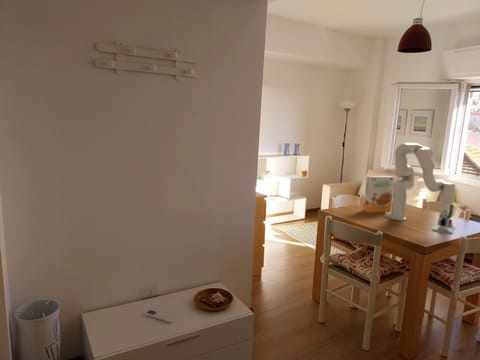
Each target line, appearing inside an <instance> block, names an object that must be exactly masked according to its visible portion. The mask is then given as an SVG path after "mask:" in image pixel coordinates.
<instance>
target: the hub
mask: <svg viewBox="0 0 480 360" xmlns="http://www.w3.org/2000/svg"><path fill="white" fill-rule="evenodd" d="M441 219H442V217H439V216H438V220H437V226H442V225H440V224H441ZM450 219H451V218H450ZM450 219H448V218H446V226H443V227H448V228H449V225H450V224H449V220H450Z"/></svg>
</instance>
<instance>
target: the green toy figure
mask: <svg viewBox="0 0 480 360" xmlns="http://www.w3.org/2000/svg"><path fill="white" fill-rule="evenodd" d="M441 205H442V202H441V201H440V206H441ZM454 207H455V205H454V204H453V203H451V204H450V210H449V214H448V216H447V218H448V219H450V220H449V225H450V224H451V225H452V222H453V219H451V218H453V213H454V209H455V208H454ZM439 209H440V210H439V212H440V211H441V207H440V208H439ZM439 217H442V215H441V216H440V213H439V215H438V218H439Z"/></svg>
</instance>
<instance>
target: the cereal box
mask: <svg viewBox="0 0 480 360" xmlns="http://www.w3.org/2000/svg"><path fill="white" fill-rule="evenodd" d="M394 180H395V177H394V176H391V175H366V177H365V185H364V186H365V188H364V197H363V205H362V206H363V207H362V211H363V210H364V212H365V213H382V212H383V213H386V211H389V212H391V210H392V208H391V207H392V201H393V193H394V188H393V186H394V183H395V181H394Z"/></svg>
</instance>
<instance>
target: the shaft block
mask: <svg viewBox="0 0 480 360" xmlns="http://www.w3.org/2000/svg"><path fill="white" fill-rule="evenodd" d="M453 230H454V228H452V227H449V226H448V227H443V226H439V225H435V224H434V225H433V226H432V231H433V232H439V233H444V234H449V235H452V234H453Z"/></svg>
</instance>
